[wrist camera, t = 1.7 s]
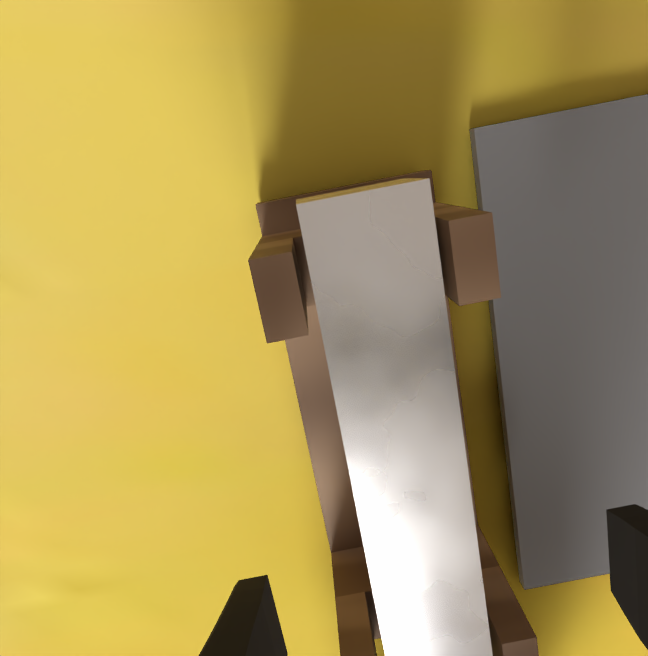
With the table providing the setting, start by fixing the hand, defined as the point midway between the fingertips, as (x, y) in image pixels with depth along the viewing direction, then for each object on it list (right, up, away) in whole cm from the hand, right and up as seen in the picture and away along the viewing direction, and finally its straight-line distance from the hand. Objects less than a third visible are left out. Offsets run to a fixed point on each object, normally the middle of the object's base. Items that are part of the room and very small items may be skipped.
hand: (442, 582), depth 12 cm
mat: (+8, +4, +9) cm, 13 cm away
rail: (0, +1, +6) cm, 6 cm away
